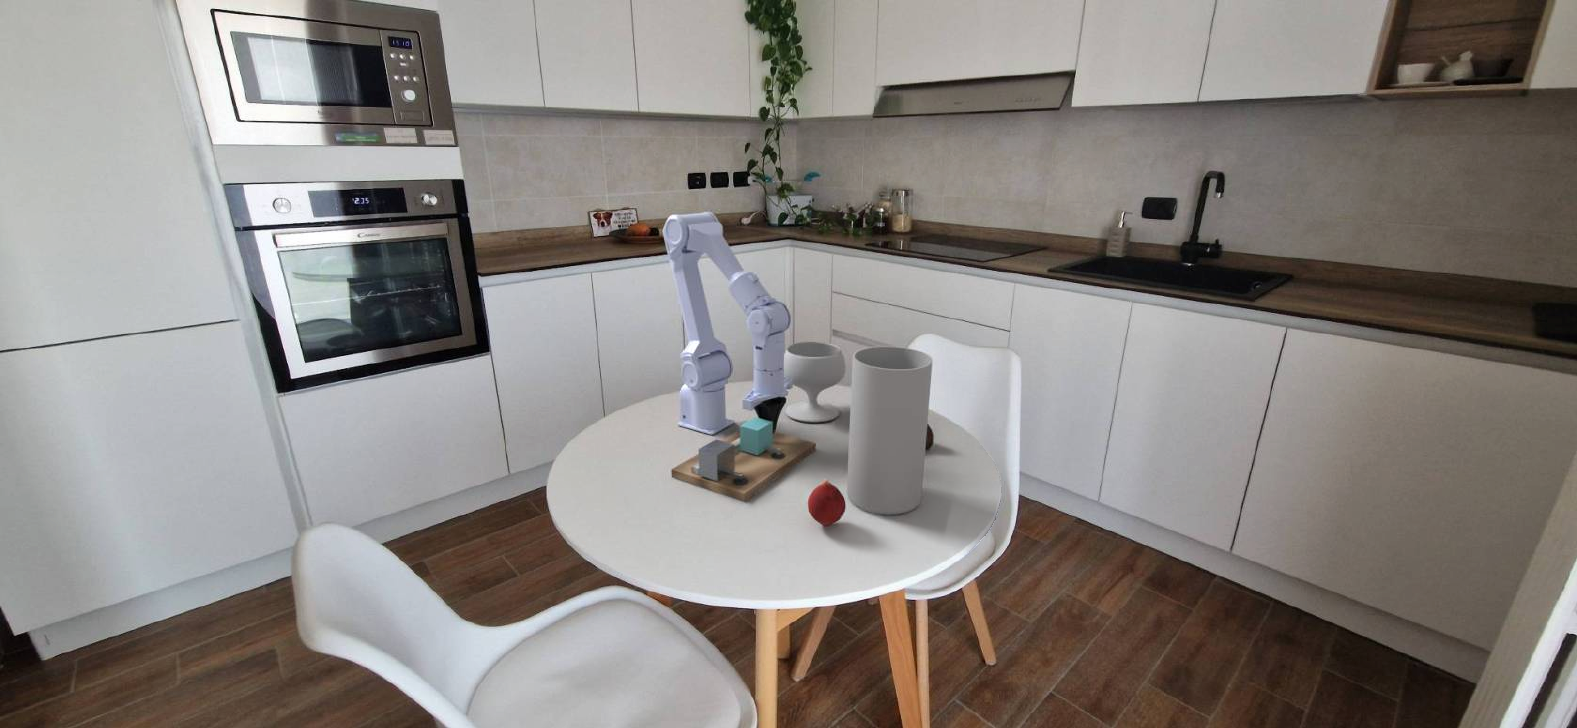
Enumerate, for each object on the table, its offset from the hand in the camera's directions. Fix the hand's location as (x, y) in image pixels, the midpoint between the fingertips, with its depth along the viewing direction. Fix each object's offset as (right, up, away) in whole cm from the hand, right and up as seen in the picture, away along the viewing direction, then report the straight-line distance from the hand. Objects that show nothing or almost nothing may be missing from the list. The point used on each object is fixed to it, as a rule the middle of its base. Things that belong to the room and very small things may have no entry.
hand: (768, 432), depth 130 cm
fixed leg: (-7, -6, -14) cm, 16 cm away
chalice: (+9, +2, +19) cm, 21 cm away
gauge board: (-4, -5, -5) cm, 8 cm away
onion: (+10, -12, -25) cm, 30 cm away
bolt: (+24, -4, +1) cm, 25 cm away
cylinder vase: (+20, -9, -17) cm, 28 cm away
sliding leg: (-1, -3, -4) cm, 5 cm away
